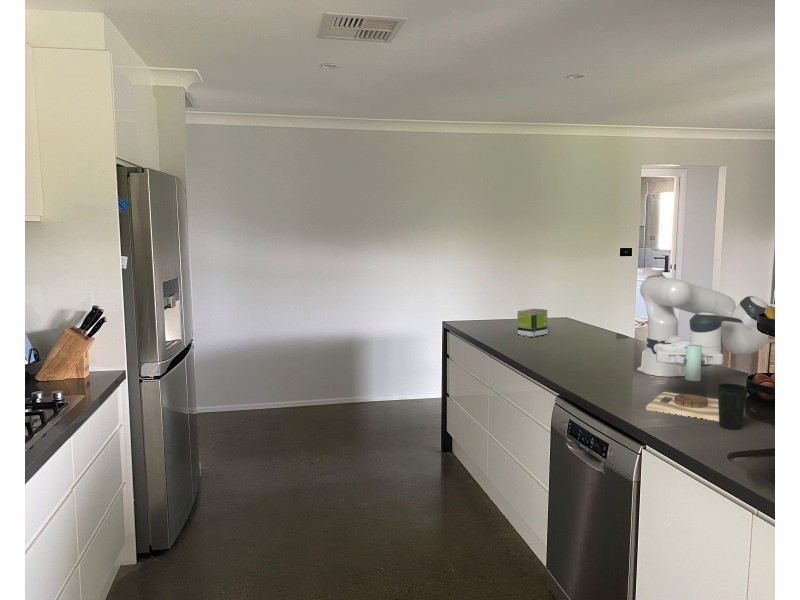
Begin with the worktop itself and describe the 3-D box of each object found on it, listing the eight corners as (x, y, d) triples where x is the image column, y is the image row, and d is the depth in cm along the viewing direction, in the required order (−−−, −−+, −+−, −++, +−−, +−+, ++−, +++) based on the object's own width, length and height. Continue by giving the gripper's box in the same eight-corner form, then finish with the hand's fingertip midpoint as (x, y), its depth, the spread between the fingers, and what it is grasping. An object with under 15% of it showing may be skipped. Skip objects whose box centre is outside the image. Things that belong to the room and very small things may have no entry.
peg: (683, 377, 195) (684, 344, 194) (698, 378, 194) (699, 344, 193) (687, 380, 191) (688, 346, 189) (702, 381, 190) (703, 347, 189)
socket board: (663, 395, 209) (663, 386, 209) (734, 405, 196) (734, 395, 195) (646, 409, 191) (646, 400, 191) (722, 422, 178) (723, 411, 178)
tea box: (533, 333, 344) (533, 308, 343) (547, 335, 337) (548, 309, 335) (516, 336, 335) (517, 310, 333) (531, 338, 327) (531, 311, 325)
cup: (748, 426, 174) (751, 386, 173) (741, 432, 168) (743, 391, 167) (719, 421, 179) (722, 382, 178) (711, 426, 174) (713, 386, 172)
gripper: (716, 363, 202) (729, 372, 189) (652, 361, 207) (660, 369, 194) (717, 345, 202) (730, 353, 188) (653, 343, 206) (660, 350, 193)
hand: (694, 361), depth 191 cm, fingers closed on peg, 4 cm apart
